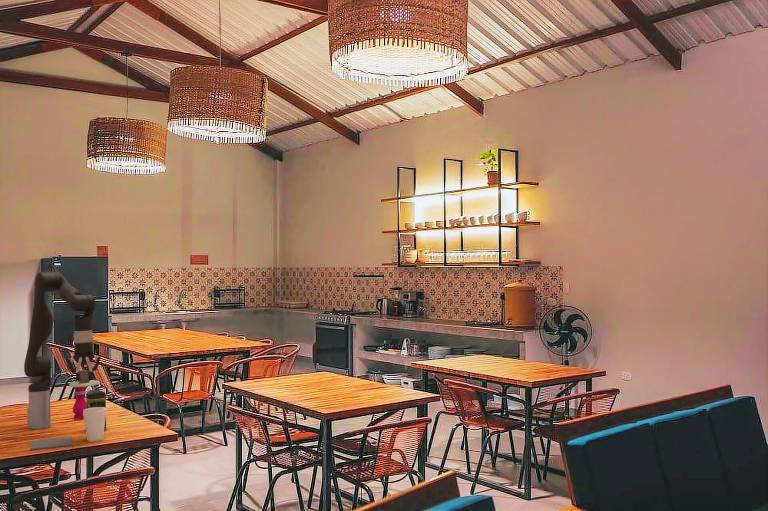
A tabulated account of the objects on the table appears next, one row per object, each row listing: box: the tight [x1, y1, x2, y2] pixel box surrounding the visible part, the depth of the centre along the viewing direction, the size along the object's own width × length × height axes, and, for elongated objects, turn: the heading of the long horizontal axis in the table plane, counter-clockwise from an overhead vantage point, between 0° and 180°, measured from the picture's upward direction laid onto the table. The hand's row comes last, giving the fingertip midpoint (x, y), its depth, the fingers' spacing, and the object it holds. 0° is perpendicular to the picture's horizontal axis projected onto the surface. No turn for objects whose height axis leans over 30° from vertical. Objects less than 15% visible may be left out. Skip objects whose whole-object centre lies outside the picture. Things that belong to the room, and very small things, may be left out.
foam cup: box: [83, 407, 107, 442], centre depth 318 cm, size 10×9×13 cm
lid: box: [68, 369, 100, 388], centre depth 316 cm, size 12×12×6 cm
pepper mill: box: [72, 387, 87, 421], centre depth 363 cm, size 7×7×20 cm
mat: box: [29, 436, 74, 451], centre depth 311 cm, size 16×16×1 cm
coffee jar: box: [85, 388, 107, 431], centre depth 335 cm, size 10×8×19 cm
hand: (84, 380), depth 316 cm, fingers closed on lid, 4 cm apart
